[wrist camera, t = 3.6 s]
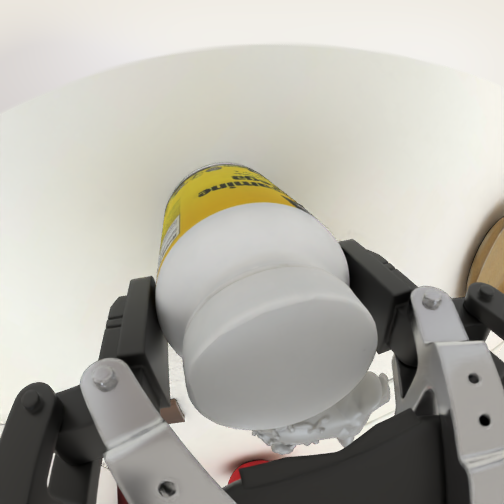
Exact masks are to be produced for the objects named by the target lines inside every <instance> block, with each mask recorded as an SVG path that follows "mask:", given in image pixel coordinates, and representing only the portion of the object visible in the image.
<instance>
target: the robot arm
mask: <svg viewBox="0 0 504 504" xmlns="http://www.w3.org/2000/svg"><path fill="white" fill-rule="evenodd" d="M338 243H339V244H340V246H341V248H342V250H343V253H344V255H345V257H346V261H347V264H348V269H349V277H350V287H349V288H350V289H351V290H352V291H353V293H354V294H355V296H356V297H357V298H358V299H359V300H360V301H361V303H362V304H363V305H364V306H365V307H366V309H367V310H368V311H369V313H370V314H371V315H372V318H373V320H374V322H375V324H376V329H377V335H378V341H377V349H376V351H377V353H378V354H381V353H384V352H386V351H389V350H392V351H393V352H394V354H393V357H392V370H393V379H394V389H395V400H396V410H395V415H394V416H393V417H391V418H389V419H387V420H385V421H383V422H380V423H378V424H376V425H375V426H373V427H372V428H371V429H370V430H368V431H367V432H366V433H364V434H363V435H362V436H360V437H359V438H358V439H356V440H355V441H353V442H352V443H351V444H349V445H348V446H346V447H345V448H343V449H342V450H340V451H338V452H334V453H327V454H318V455H309V456H297V457H285V458H282V459H278V460H274V461H270V462H266V463H262V464H258V465H253V466H249V467H244V468H239V469H238V470H239V473H240V477H241V479H239V480H237V481H234V482H232V483H230V484H229V485H227V486H225V487H223V488H221V487H220V486H219V485H218V484H217V483H216V481H215V480H214V479H213V478H212V477H211V476H210V475H209V474H208V473H207V471H206V470H205V469H204V468H203V467H202V466H201V465H200V463H199V462H198V461H197V460H196V459H195V457H194V456H193V455H192V454H191V453H190V451H189V450H188V449H187V448H186V446H185V445H184V444H183V443H182V441H181V440H180V439H179V437H178V436H177V435H176V434H175V432H174V431H173V430H172V428H171V427H170V426H169V424H168V423H167V422H166V421H165V420H164V419H163V418H162V417H161V413H160V409H161V408H169V407H171V403H170V387H169V367H168V341H167V340H166V338H165V336H164V334H163V332H162V330H161V327H160V324H159V322H158V317H157V312H156V304H155V291H156V284H155V281H154V278H153V277H152V276H149V277H144V278H138V279H132V280H131V281H130V284H129V289H128V294H127V296H121V297H118V299H117V300H116V301H115V302H114V304H113V305H112V306H111V308H110V312H109V316H108V320H107V324H106V329H105V332H104V337H103V341H102V346H101V350H100V355H99V360H98V361H96V362H94V363H93V364H91V365H90V366H89V367H88V368H87V369H86V370H85V371H84V373H83V375H82V377H81V380H80V385H78V386H76V387H73V388H70V389H67V390H64V391H62V392H59V393H56V394H55V392H54V391H53V390H52V388H51V387H50V386H49V385H47V384H45V383H42V382H37V383H32V384H30V385H28V386H26V387H25V388H23V389H22V390H21V391H20V392H19V394H18V395H17V397H16V399H15V401H14V404H13V406H12V408H11V411H10V413H9V416H8V419H7V421H6V424H5V426H4V429H3V432H2V435H1V437H0V504H96V501H97V492H98V484H99V477H100V470H101V464H102V458H104V460H105V462H106V464H107V466H108V468H109V470H110V472H111V474H112V476H113V478H114V479H115V481H116V483H117V485H118V487H119V488H120V490H121V492H122V493H123V495H124V497H125V498H126V500H127V502H128V503H129V504H504V362H503V361H501V360H500V359H499V358H498V357H497V356H496V355H494V354H493V353H492V352H491V351H490V350H489V349H488V347H487V344H486V343H485V341H486V339H487V337H488V335H489V332H490V330H492V331H493V332H494V333H495V334H497V335H498V336H499V337H500V338H502V339H503V340H504V294H503V293H502V292H500V291H499V290H497V289H496V288H494V287H493V286H491V285H489V284H486V283H482V282H475V283H472V284H471V285H470V286H469V287H468V291H467V294H466V296H465V297H462V298H452V299H451V297H450V296H449V295H448V294H447V293H446V292H444V291H443V290H441V289H438V288H436V287H431V286H421V287H417V286H416V285H415V284H414V283H413V282H412V281H410V280H409V279H408V278H407V277H406V276H404V275H403V274H402V273H401V272H400V271H399V270H397V269H395V267H394V266H392V265H391V264H390V263H389V264H388V261H386V260H385V259H384V258H383V257H381V256H380V255H379V254H376V253H374V252H372V251H369V250H366V249H365V248H364V247H362V246H361V245H360V244H359V243H357V242H356V241H355V240H353V239H350V240H345V241H340V242H338ZM53 453H55V457H54V461H53V466H52V470H51V475H50V479H49V484H48V486H47V479H48V475H49V470H50V466H51V461H52V457H53Z"/></svg>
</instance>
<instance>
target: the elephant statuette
mask: <svg viewBox="0 0 504 504" xmlns="http://www.w3.org/2000/svg"><path fill="white" fill-rule="evenodd" d="M389 400H390V388H389V385H388V377H387V376H386V375H385V374H384V373H381V374H380V375H379V377H378V376H377V375H376V374H375V373H373V372H370V371H367V372H366V374H365V375H364V377H363V378H362V379H361V381H360V382H359V383H358V384H357V385H356V386H355V387H354V388H353V389H352V390H351V391H350V392H349V393H348V394H347V395H346V396H345V397H343V398H342V399H341V400H340V401H338V402H337V403H336V404H334V405H333V406H331V407H330V408H328V409H326V410H324V411H323V412H321V413H319V414H317V415H315V416H313V417H311V418H308V419H306V420H303V421H301V422H298V423H295V424H291V425H288V426H284V427H279V428H273V429H266V430H252V431H253V432H252V435H253V436H255V435H257V436H258V438H261V439H262V441H263V442H265V443H266V444H267V445H268V446H271V448H272V451H273V452H275V453H279V454H281V455H284V454H289V453H291V452H292V451H293V449H294V448H295V447H296V445H301V444H304V445H306V446H308V445H310V444H311V443H314V444H318V443H319V440H323V439H330V438H335V437H336V438H337V439H338V441H339V442H340V443H341V445H342V446H343V447H346V446H348V445H349V444H351V443H352V442H353V440H354V436H355V435H357V434H358V433H360V431H361V430H362V428H363V426H364V425H365V424H366V422H367V421H368V418H369V416H370V414H371V413H372V412H373V411H375V410H376V409H378V408H379V407H381V406H382V405H384V404H385V403H387V402H388V401H389Z"/></svg>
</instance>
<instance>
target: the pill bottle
mask: <svg viewBox="0 0 504 504" xmlns="http://www.w3.org/2000/svg"><path fill="white" fill-rule="evenodd" d="M349 287H350V277H349V269H348V264H347V261H346V257H345V255H344V253H343V250H342V248H341V246H340V244H339V243H338V241H337V240H336V238H335V237H334V236H333V235H332V233H331V232H330V231H329V230H328V229H327V228H326V227H325V226H324V225H323V224H322V223H321V222H320V221H319V220H318V219H317V218H315V217H314V216H313V215H312V214H310V213H309V212H308V211H307V210H306V209H305V208H304V207H303V206H302V205H300V204H298V203H297V202H296V201H295V200H293V199H292V198H290V197H289V196H288V195H287V194H285V193H284V192H283V191H281V190H280V189H279V188H278V187H276V186H275V185H274V184H272V183H271V182H270V181H269V180H268V179H266V178H265V177H263V176H262V175H261V174H259V173H257V172H256V171H254V170H252V169H250V168H248V167H245V166H242V165H238V164H233V163H217V164H211V165H208V166H205V167H202V168H200V169H198V170H196V171H194V172H192V173H191V174H189V175H188V176H187V177H186V178H184V179H183V180H182V181H181V182H180V183H179V185H178V186H177V187H176V189H175V190H174V192H173V193H172V195H171V197H170V199H169V201H168V204H167V206H166V210H165V216H164V223H163V231H162V237H161V246H160V253H159V262H158V269H157V280H156V291H155V304H156V312H157V317H158V322H159V324H160V327H161V330H162V332H163V334H164V336H165V338H166V340H167V341H168V343H169V344H170V345H171V347H172V348H173V349H174V350H175V352H176V353H177V354H178V355H179V356H180V357H182V358H183V368H184V374H185V382H186V388H187V392H188V396H189V398H190V400H191V402H192V404H193V405H194V407H195V408H196V409H197V410H198V411H199V412H200V413H201V414H202V415H203V416H205V417H206V418H208V419H209V420H211V421H213V422H215V423H217V424H219V425H223V426H226V427H230V428H235V429H242V430H266V429H273V428H279V427H284V426H288V425H291V424H295V423H298V422H301V421H303V420H306V419H308V418H311V417H313V416H315V415H317V414H319V413H321V412H323V411H324V410H326V409H328V408H330V407H331V406H333V405H334V404H336V403H337V402H338V401H340V400H341V399H342V398H343V397H345V396H346V395H347V394H348V393H349V392H350V391H351V390H352V389H353V388H354V387H355V386H356V385H357V384H358V383H359V382H360V381H361V379H362V378H363V377H364V375H365V374H366V372H367V371H368V369H369V367H370V365H371V363H372V361H373V359H374V356H375V353H376V349H377V341H378V335H377V329H376V324H375V322H374V320H373V318H372V315H371V314H370V313H369V311H368V310H367V309H366V307H365V306H364V305H363V304H362V303H361V301H360V300H359V299H358V298H357V297H356V296H355V294H354V293H353V291H352V290H351V289H350V288H349Z"/></svg>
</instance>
